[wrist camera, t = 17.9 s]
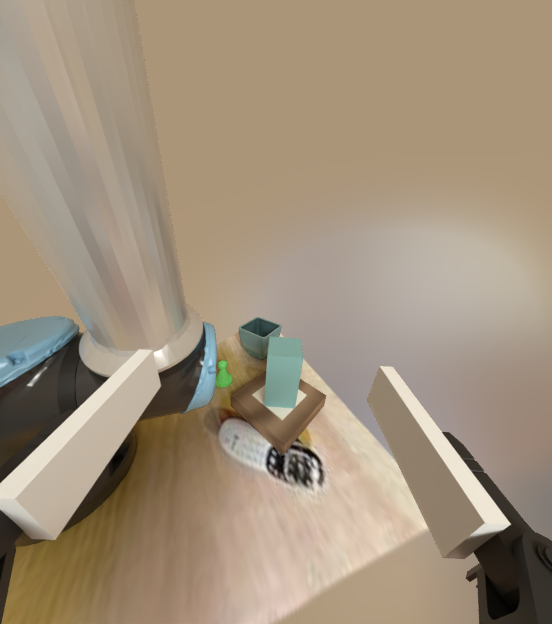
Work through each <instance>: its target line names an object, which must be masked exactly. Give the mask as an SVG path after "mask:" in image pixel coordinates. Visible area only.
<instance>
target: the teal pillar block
mask: <svg viewBox="0 0 552 624" xmlns="http://www.w3.org/2000/svg"><path fill="white" fill-rule="evenodd" d="M302 354H303V353H302V346H301V339H296V338H284V337H271V336H270V338H269V346H268V355H267V370H266V384H265V399H264V406H269V407H281V408H294V409H295V406H296V400H297V394H298V387H299V381H300V375H301V369H302V363H303V355H302Z"/></svg>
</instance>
